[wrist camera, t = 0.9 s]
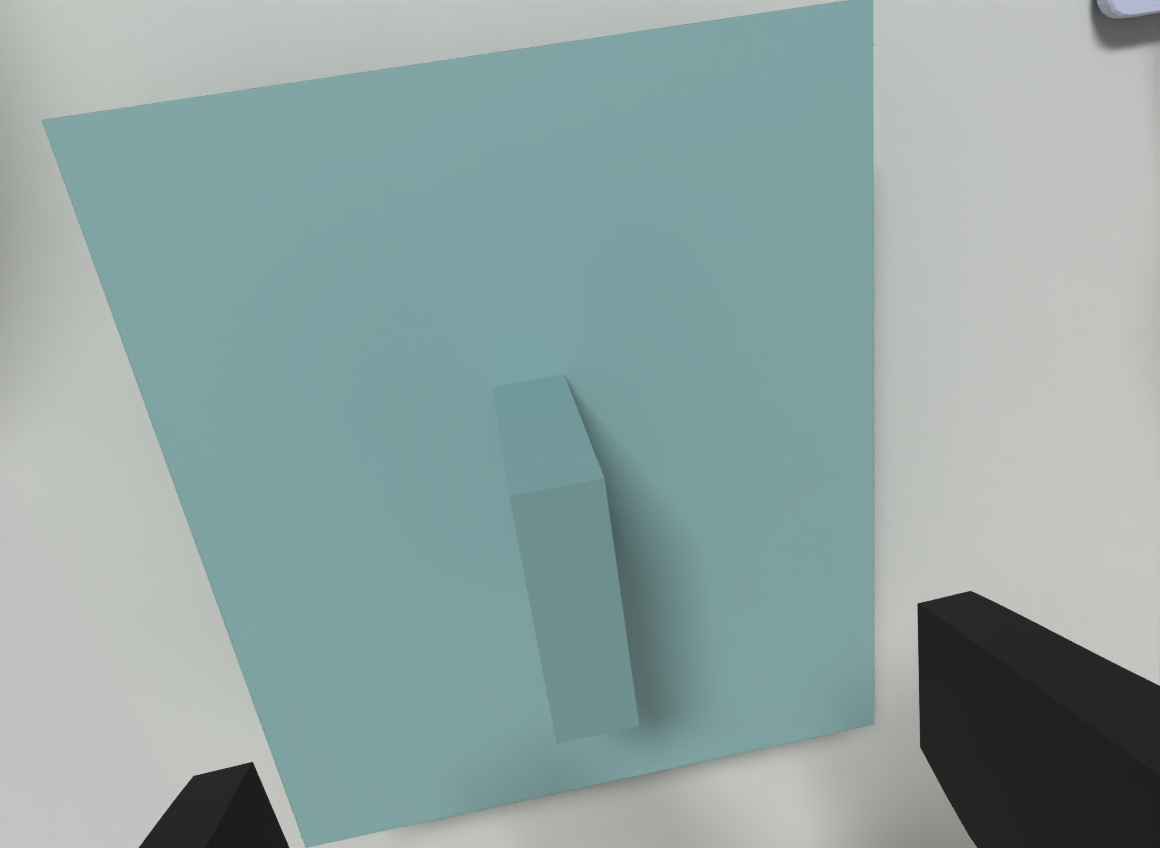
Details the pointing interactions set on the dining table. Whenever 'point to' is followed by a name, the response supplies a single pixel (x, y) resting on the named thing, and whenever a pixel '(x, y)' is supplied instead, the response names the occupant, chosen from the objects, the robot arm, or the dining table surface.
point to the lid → (516, 400)
